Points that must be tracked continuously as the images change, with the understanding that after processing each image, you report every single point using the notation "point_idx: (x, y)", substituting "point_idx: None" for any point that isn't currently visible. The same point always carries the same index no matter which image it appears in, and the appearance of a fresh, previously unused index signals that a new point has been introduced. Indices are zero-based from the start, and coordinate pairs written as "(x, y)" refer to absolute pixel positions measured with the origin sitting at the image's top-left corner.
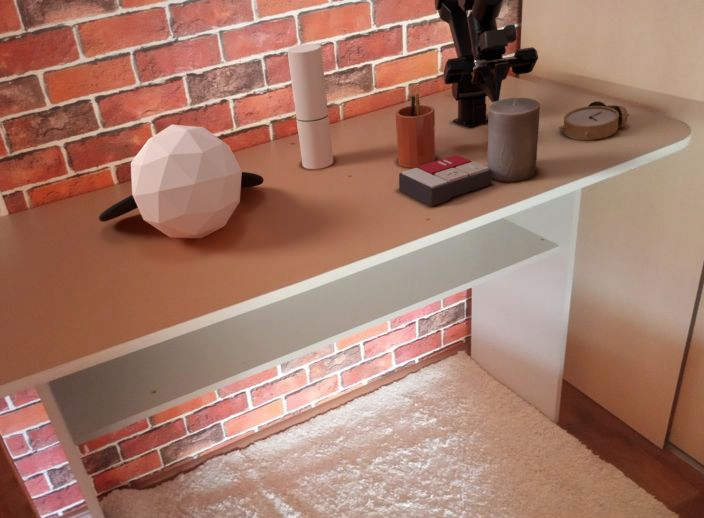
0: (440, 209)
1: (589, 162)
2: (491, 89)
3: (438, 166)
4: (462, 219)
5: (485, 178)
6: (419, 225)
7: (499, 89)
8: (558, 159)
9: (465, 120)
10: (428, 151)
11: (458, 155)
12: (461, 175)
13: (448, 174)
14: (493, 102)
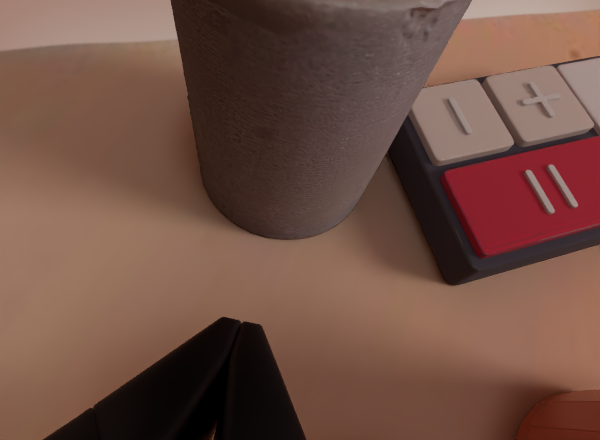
0: None
1: (15, 102)
2: (270, 406)
3: (578, 170)
4: (500, 21)
5: None
6: (594, 43)
7: (159, 369)
8: (76, 174)
9: None
10: (596, 397)
11: (480, 245)
12: (510, 74)
13: (552, 94)
14: (432, 6)
